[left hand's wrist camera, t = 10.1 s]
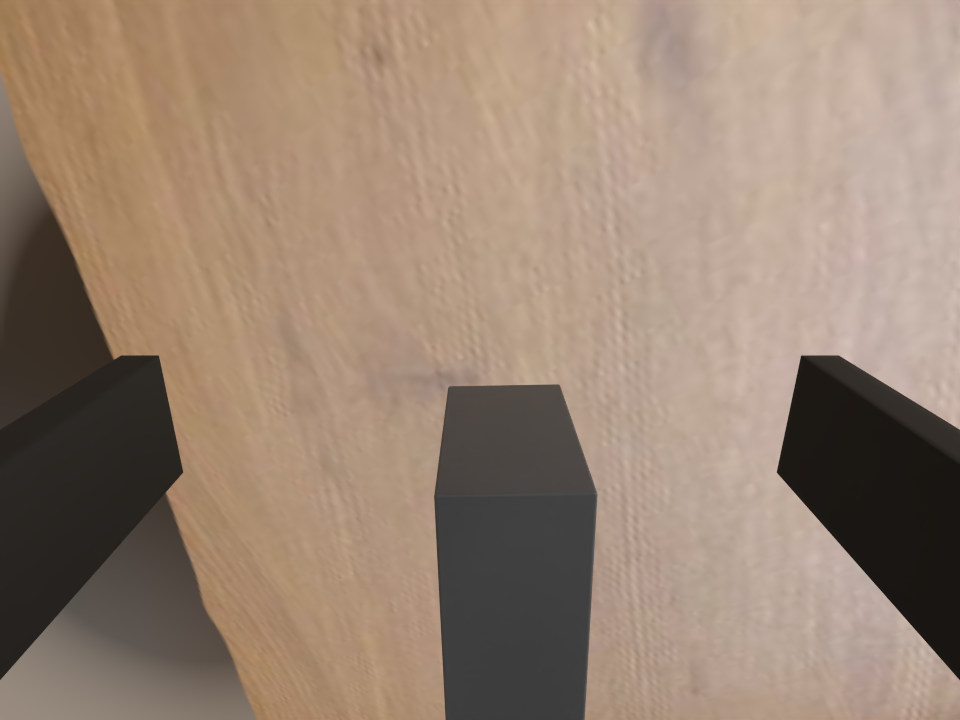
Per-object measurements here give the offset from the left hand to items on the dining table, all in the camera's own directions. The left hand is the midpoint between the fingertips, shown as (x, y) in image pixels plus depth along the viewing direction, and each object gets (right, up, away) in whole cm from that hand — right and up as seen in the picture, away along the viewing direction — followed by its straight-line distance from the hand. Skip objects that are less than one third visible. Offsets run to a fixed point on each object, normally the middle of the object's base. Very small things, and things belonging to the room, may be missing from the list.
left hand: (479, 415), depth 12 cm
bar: (+1, -12, +16) cm, 20 cm away
